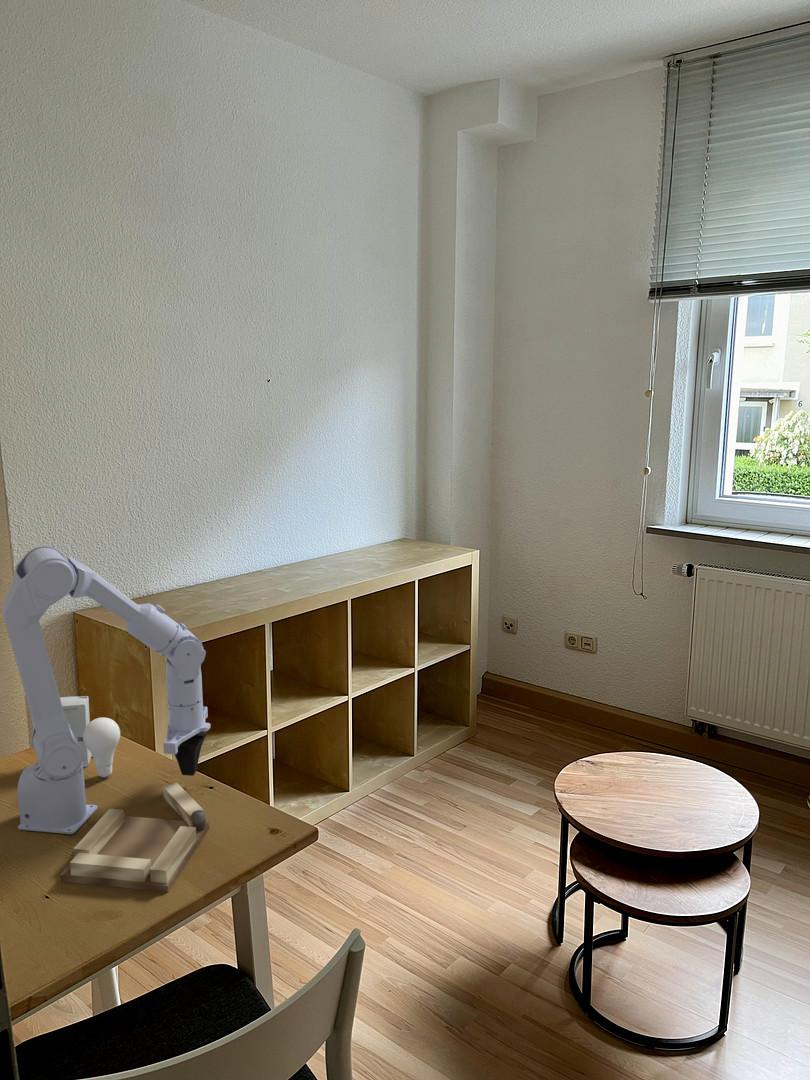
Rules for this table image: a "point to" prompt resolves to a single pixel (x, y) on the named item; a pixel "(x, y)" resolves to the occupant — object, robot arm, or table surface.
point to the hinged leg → (185, 805)
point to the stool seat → (133, 852)
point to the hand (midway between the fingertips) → (189, 773)
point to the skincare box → (78, 720)
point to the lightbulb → (102, 743)
